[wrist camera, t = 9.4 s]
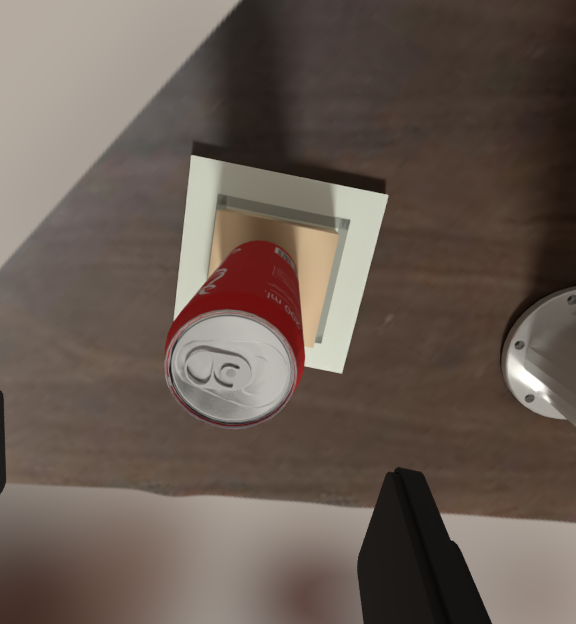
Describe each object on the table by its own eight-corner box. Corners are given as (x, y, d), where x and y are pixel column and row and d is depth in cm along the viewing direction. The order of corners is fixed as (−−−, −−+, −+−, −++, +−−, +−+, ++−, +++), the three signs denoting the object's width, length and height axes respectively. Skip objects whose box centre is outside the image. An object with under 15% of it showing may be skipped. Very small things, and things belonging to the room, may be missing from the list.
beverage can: (243, 225, 27) (169, 254, 13) (321, 267, 28) (335, 340, 13) (209, 294, 29) (111, 390, 14) (284, 333, 29) (262, 462, 15)
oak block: (335, 230, 31) (339, 234, 27) (312, 331, 33) (313, 348, 30) (228, 208, 31) (217, 210, 27) (213, 311, 33) (201, 325, 29)
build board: (385, 195, 31) (388, 195, 30) (340, 367, 36) (341, 373, 34) (195, 156, 31) (191, 154, 30) (176, 334, 35) (171, 339, 34)
